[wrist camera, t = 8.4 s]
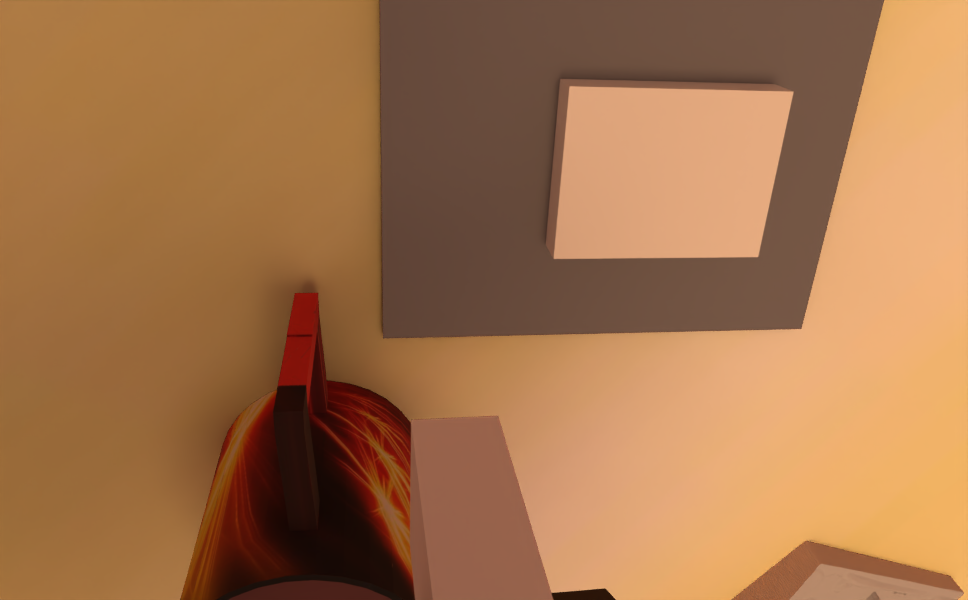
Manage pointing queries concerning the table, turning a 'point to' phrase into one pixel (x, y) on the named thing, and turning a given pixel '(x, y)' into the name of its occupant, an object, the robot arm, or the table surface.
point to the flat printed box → (846, 578)
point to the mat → (530, 148)
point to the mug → (308, 490)
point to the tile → (663, 168)
